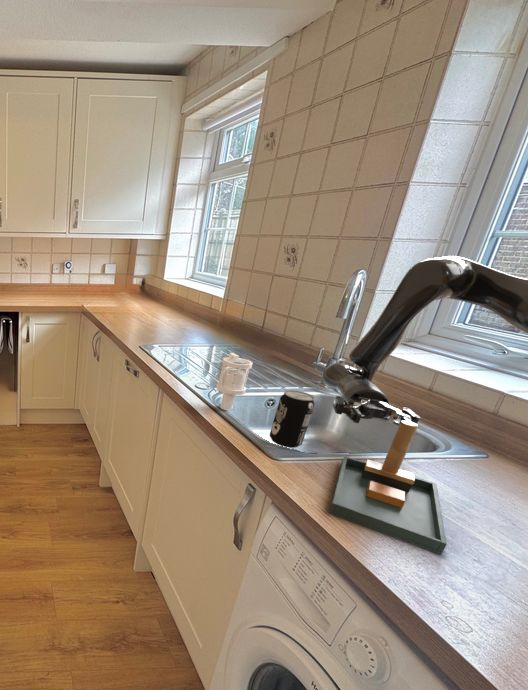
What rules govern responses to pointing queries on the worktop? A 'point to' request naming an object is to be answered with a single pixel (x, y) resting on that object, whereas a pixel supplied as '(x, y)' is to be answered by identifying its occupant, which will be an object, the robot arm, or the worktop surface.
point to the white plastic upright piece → (232, 379)
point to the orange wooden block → (386, 494)
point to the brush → (394, 461)
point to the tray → (390, 508)
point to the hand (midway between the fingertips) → (383, 423)
